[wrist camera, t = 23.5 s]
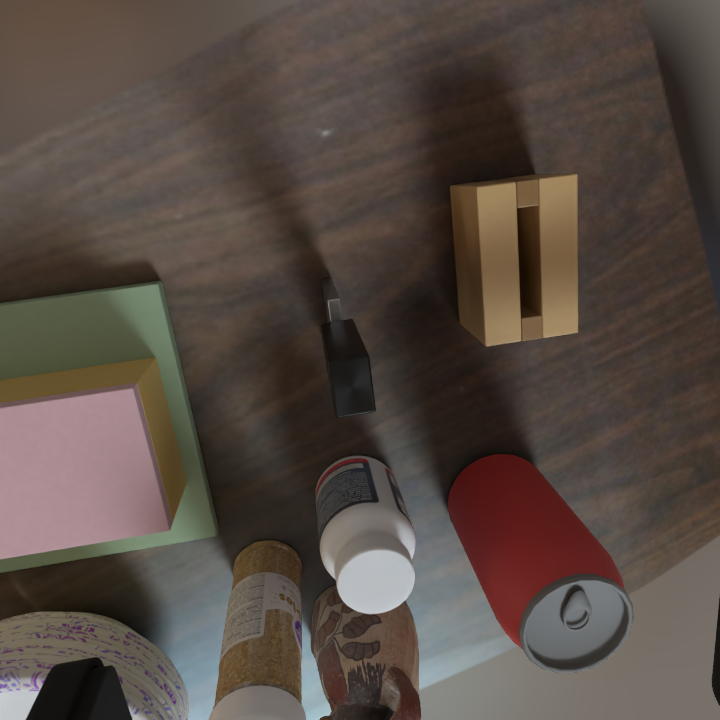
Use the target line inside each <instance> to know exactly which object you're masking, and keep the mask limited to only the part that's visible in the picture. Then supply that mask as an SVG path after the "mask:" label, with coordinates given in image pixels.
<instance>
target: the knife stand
mask: <svg viewBox="0 0 720 720" xmlns="http://www.w3.org/2000/svg"><path fill="white" fill-rule="evenodd" d="M450 196H451V210H452V224H453V238H454V252H455V266H456V281H457V295H458V309H459V323H460V324H461V325H462V326H463V327H464V328H465V329H466V330H468V331H469V332H470V333H471V334H472V335H473V336H474V337H476V338H477V339H478V340H479V341H480V342H481V343H483V344H484V345H485V346H493V345H500V344H506V343H513V342H519V341H527V340H534V339H540V338H546V337H552V336H559V335H565V334H572V333H577V332H578V217H577V174H576V173H574V174H533V175H525V176H518V177H510V178H504V179H495V180H487V181H480V182H472V183H465V184H457V185H451V186H450Z"/></svg>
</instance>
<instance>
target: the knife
mask: <svg viewBox="0 0 720 720" xmlns="http://www.w3.org/2000/svg"><path fill="white" fill-rule="evenodd" d="M321 282H322V289H323V296H324V303H325V309H326V316H327V323H322V324H321V325H320V327H321V334H322V340H323V347H324V354H325V360H326V367H327V373H328V378H329V384H330V389H331V394H332V400H333V405H334V411H335V416H336V417H337V418H340V417H347V416H353V415H359V414H365V413H372V412H375V410H376V407H375V399H374V391H373V383H372V375H371V367H370V359H369V355H368V353H367V350H366V348H365V346H364V343H363V341H362V339H361V337H360V334H359V332H358V330H357V327H356V325H355V323H354V321H353V319H349V320H343V318H342V311H341V304H340V298H339V296H338V293H337V291H336V288H335V286H334V283H333V281H332V279H331V278H327V279H322V280H321Z"/></svg>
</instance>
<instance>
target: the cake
mask: <svg viewBox="0 0 720 720" xmlns="http://www.w3.org/2000/svg"><path fill="white" fill-rule="evenodd" d="M186 483H187V482H186V478H185V473H184V469H183V465H182V461H181V457H180V453H179V449H178V445H177V441H176V437H175V433H174V429H173V424H172V420H171V416H170V412H169V408H168V404H167V400H166V396H165V392H164V388H163V384H162V380H161V376H160V371H159V367H158V363H157V359H156V357H153V358H146V359H140V360H133V361H126V362H119V363H113V364H106V365H99V366H92V367H86V368H79V369H72V370H65V371H59V372H52V373H45V374H38V375H32V376H25V377H18V378H11V379H4V380H0V559H6V558H12V557H18V556H23V555H29V554H35V553H41V552H47V551H53V550H59V549H65V548H71V547H77V546H83V545H89V544H95V543H101V542H107V541H113V540H118V539H124V538H130V537H136V536H142V535H148V534H154V533H160V532H166V531H170V529H171V527H172V524H173V521H174V518H175V515H176V512H177V509H178V507H179V504H180V501H181V498H182V495H183V492H184V489H185V486H186Z"/></svg>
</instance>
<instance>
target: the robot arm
mask: <svg viewBox="0 0 720 720" xmlns="http://www.w3.org/2000/svg"><path fill="white" fill-rule="evenodd" d="M713 664H714V665H713V674H712V687H713V692H714V695H715V697H716V699H717V702H718V703H719V705H720V599H719V610H718V621H717V632H716V642H715V653H714V663H713ZM26 720H132V717H131V714H130V711H129V708H128V705H127V702H126V699H125V696H124V693H123V690H122V687H121V683H120V680H119V677H118V674H117V672H116V669H115V667H113V666H112V665H110V666H104V664H103V662H102V660H101V659H100V658H98V657H93V658H87V659H82V660H76V661H71V662H65V663H60V664H56V665H55V666H53V667H52V668H51V670H50V672H49V673H48V675H47V677H46V679H45V681H44V683H43V685H42V687H41V689H40V691H39V693H38V695H37V698H36V700H35V702H34V704H33V706H32V708H31V710H30V712H29V714H28V716H27V718H26Z"/></svg>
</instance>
